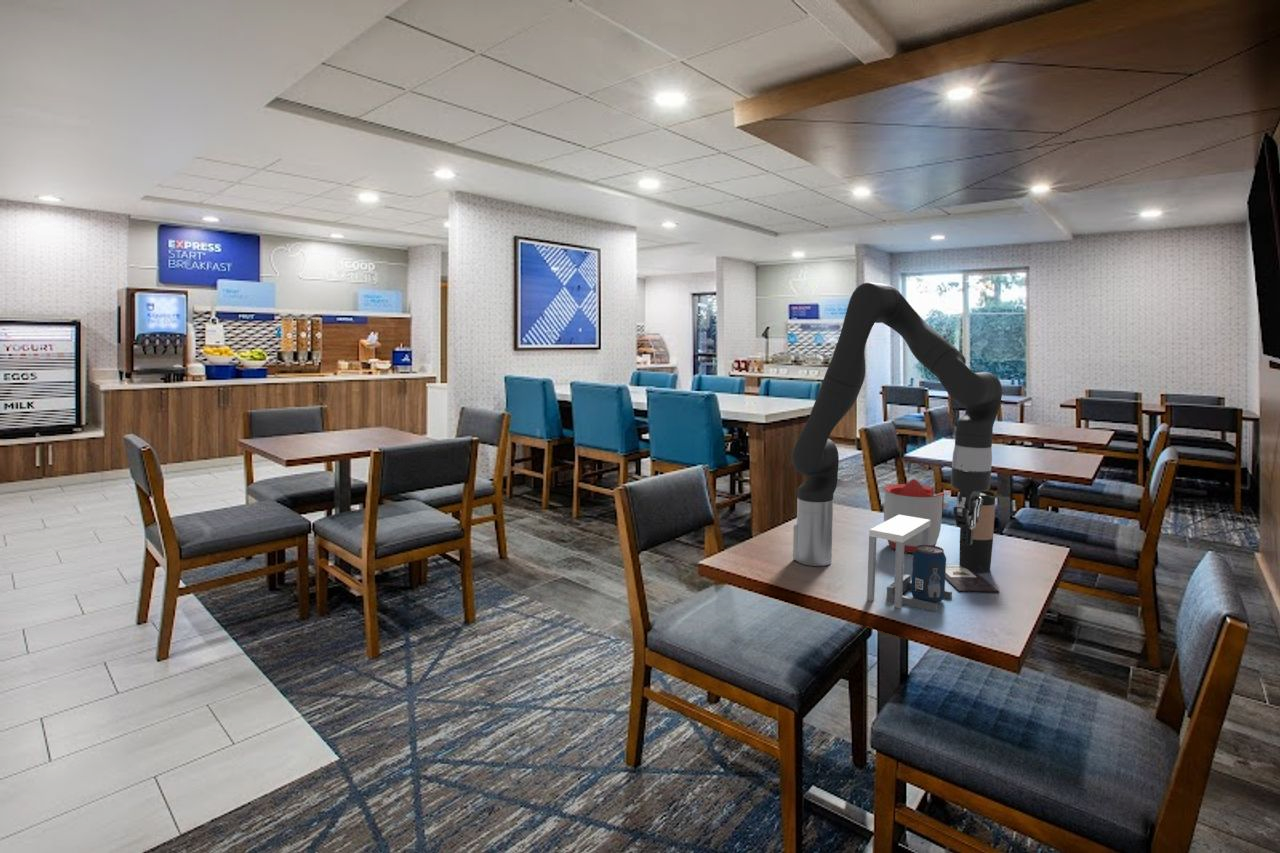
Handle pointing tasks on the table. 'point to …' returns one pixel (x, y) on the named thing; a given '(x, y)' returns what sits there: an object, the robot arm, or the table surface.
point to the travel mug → (980, 538)
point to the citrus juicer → (914, 509)
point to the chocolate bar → (967, 580)
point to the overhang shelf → (899, 558)
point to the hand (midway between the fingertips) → (965, 544)
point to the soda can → (928, 573)
